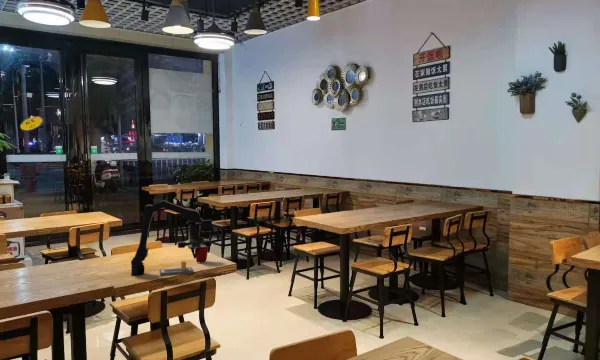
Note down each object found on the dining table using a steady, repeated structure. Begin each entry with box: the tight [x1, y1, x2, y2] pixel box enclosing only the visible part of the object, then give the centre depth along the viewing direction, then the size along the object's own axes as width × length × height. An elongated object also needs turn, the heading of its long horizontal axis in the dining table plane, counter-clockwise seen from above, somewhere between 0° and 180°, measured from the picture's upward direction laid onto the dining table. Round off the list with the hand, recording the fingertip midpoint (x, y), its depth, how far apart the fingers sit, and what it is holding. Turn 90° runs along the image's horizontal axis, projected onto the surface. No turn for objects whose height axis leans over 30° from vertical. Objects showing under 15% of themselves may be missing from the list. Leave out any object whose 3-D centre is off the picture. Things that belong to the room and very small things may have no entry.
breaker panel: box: [159, 266, 194, 277], centre depth 255 cm, size 18×8×2 cm, turn 110°
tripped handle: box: [180, 260, 187, 270], centre depth 256 cm, size 2×4×4 cm, turn 20°
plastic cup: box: [194, 245, 210, 263], centre depth 279 cm, size 11×11×12 cm
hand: (194, 258), depth 258 cm, fingers closed
